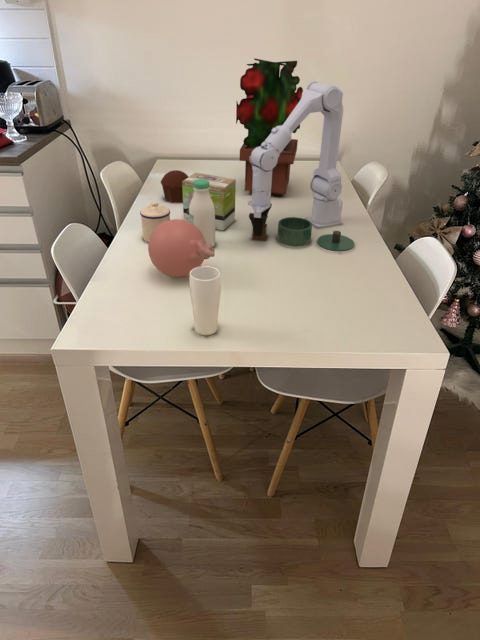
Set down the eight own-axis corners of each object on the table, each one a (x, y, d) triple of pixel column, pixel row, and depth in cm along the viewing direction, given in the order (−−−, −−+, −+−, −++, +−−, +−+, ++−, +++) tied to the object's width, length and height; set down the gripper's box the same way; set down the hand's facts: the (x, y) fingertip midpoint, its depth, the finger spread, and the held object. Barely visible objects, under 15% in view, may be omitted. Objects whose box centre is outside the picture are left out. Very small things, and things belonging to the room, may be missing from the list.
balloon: (193, 299, 124) (191, 244, 116) (138, 275, 134) (133, 222, 126) (230, 277, 135) (231, 224, 126) (177, 256, 145) (174, 206, 136)
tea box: (182, 223, 164) (180, 180, 156) (196, 213, 172) (194, 171, 164) (224, 231, 160) (224, 187, 151) (235, 220, 167) (236, 177, 159)
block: (254, 234, 158) (254, 222, 156) (266, 235, 158) (267, 223, 156) (252, 239, 155) (252, 227, 153) (264, 240, 155) (265, 228, 152)
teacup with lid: (167, 245, 150) (164, 209, 144) (138, 242, 151) (134, 206, 145) (177, 229, 160) (175, 195, 154) (150, 227, 161) (147, 192, 155)
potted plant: (234, 197, 185) (237, 64, 160) (244, 179, 203) (247, 57, 178) (293, 202, 183) (305, 67, 157) (297, 183, 201) (308, 59, 175)
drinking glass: (203, 318, 118) (202, 262, 109) (226, 328, 115) (226, 271, 106) (185, 331, 113) (182, 274, 105) (208, 342, 110) (207, 283, 101)
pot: (311, 235, 158) (313, 218, 155) (309, 249, 150) (311, 232, 147) (279, 232, 160) (280, 215, 157) (275, 246, 151) (276, 228, 148)
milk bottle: (218, 242, 153) (218, 178, 142) (209, 252, 147) (208, 187, 136) (196, 238, 155) (194, 175, 144) (186, 248, 149) (183, 183, 138)
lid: (353, 239, 157) (355, 226, 155) (353, 254, 148) (356, 241, 145) (317, 235, 159) (319, 223, 156) (315, 251, 149) (317, 238, 147)
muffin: (190, 204, 179) (189, 177, 173) (159, 204, 178) (157, 176, 173) (193, 193, 188) (192, 167, 183) (164, 192, 188) (162, 166, 183)
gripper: (252, 180, 154) (250, 220, 162) (244, 195, 142) (243, 239, 150) (274, 182, 153) (272, 222, 161) (268, 198, 141) (265, 241, 149)
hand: (259, 230), depth 155 cm, fingers open, 7 cm apart
